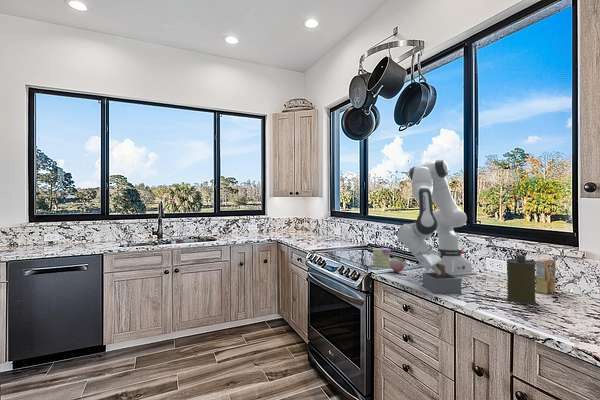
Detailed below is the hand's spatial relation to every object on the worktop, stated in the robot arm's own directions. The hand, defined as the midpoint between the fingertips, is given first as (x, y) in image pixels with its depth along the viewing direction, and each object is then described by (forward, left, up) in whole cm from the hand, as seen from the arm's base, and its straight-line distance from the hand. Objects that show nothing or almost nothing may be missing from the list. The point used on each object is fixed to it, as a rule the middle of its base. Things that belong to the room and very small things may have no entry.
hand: (442, 272), depth 153 cm
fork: (-11, -57, -9) cm, 58 cm away
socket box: (0, 0, -8) cm, 9 cm away
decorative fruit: (+9, -37, -9) cm, 39 cm away
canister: (-27, +18, -9) cm, 33 cm away
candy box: (-48, +7, -9) cm, 49 cm away
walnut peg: (+1, 0, -6) cm, 6 cm away
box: (+13, -56, -9) cm, 59 cm away
